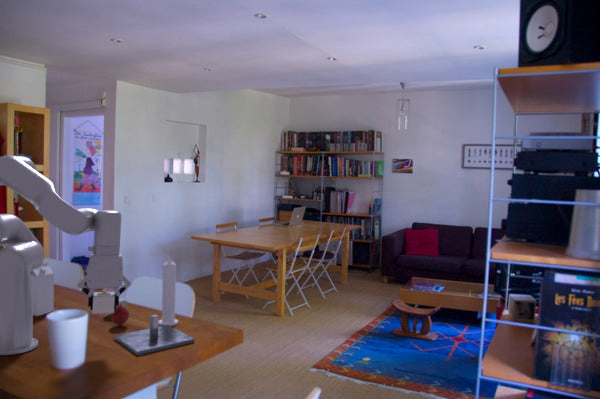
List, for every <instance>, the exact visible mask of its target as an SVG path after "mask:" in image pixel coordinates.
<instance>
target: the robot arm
mask: <svg viewBox="0 0 600 399" xmlns="http://www.w3.org/2000/svg"><path fill="white" fill-rule="evenodd" d="M1 186H6V187H7V188H9V189H11V190H12V191H13V192H14V193H17V194H18V195H20V196H21V197H22V198H23V199H25V200H26V201H28V202H30V204H32V205H33V207H34V208H35V210H36V211H37V212H38V213H39V214H40V216H41V217H43V218H44V219H45V221H48V222H49V223H50V224H51V225H53V226H54V227H56V228H57V229H59V230H60V231H62V232H64V234H65V233H66V234H68V235H71V236H78V235H82V234H85V233H89V232H90V233H91V232H93V245H91V246H87V247H88V248H87V251H88V252H92V253H91V254H90V256H89V260H88V263H87V264H88V265H87V271H86V272H87V274H86V275H85V276H84V277H83V278H82V279H80V281H79V282H77V283H76V286H77V287H78V288H79V289H80V290H81V291H82V292H83V293H84V294H85V295H86V296H87V297H88V302H87V307H89V308H90V311H93V295H94V292H95V291H96V289H97V290H98V289H99V290H100V289H102V290H105V289H106V290H107V289H114V290H113V292H114V293H115V301H114V309H116V306H119V297H120V296H121V295H122V294H123V293H124V292H125V291H126V290H127V289H128V288H130V287H131V286H132V282H131V281H130V280H129V279H128V278H127V277H126V276H125V275H124V262H123V256H122V254H120V251H121V250H120V249H121V232H122V213H121V212H120V211H117V210H113V209H111V210H109V209H108V210H107V209H105V210H104V209H100V210H99V209H95V208H90V207H80V208H75V207H74V206H72V205H71V204H69V203H68V202H67V201H65V200H64V199H63V198H61V197H60V196H59V194H57V192H56V190H55V184H54V182H53V181H52V180H50V179H49V178H48V177H46V176H45V175H43V174H42V173H40V172H39V171H38V170H37V166H36V164H35V163H34V162H33V161H32V160H31V159H30V158H28V157H26V156H21V155H11V154H8V155H6V154H5V155H3V156H0V187H1ZM0 246H2V247H3V248H1V249H0V356H10V355H12V356H13V355H19V354H23V353H26V352H29V351H32V350H34V349H36V348H37V347H38V346H39V340H38V339H37V338H35V337H34V336H33V333H34V332H33V331H34V330H33V327H34V326H33V321H34V320H33V317H34V315H33V286H32V281H31V277H30V271H32V270H34V269H36V268H38V267H39V266H40V265H41V264H42V263H44V261H45V257H46V253H45V249H44V247H43V245H42V244H41V242H40V241H39V240H38V239H37V237H36V236H35V235H34V234H33V232H32V231H31V230H30V229H29V226H27V225H26V223H25V222H23V220H22V219H21V218H19V217H18V216H17V215H14V214H11V213H0ZM85 283H86V286H87V287H86V286H85ZM123 283H124V285H123Z"/></svg>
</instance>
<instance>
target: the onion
mask: <svg viewBox="0 0 600 399" xmlns="http://www.w3.org/2000/svg"><path fill="white" fill-rule="evenodd" d="M122 305H123V304H119V306H118V307H116V309H114V313H112V314H111V315H110V319H111V320H112V322H113V323H114V324H115V325H116V326H118V327H122V326H123V325H124V324H125V323H126V322H127V321H128V320H129V317H130V312H129V311H128V309H127V307H126V308H125V307H123V306H122Z"/></svg>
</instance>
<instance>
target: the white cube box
mask: <svg viewBox="0 0 600 399" xmlns="http://www.w3.org/2000/svg"><path fill="white" fill-rule="evenodd" d="M114 301H115V291H107V289H106V290H105V289H102V291H98V292H97V291H94V292H93V310H92V313H91V314H93V315H94V314H109V313H114Z"/></svg>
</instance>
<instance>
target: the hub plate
mask: <svg viewBox="0 0 600 399" xmlns="http://www.w3.org/2000/svg"><path fill="white" fill-rule="evenodd" d="M158 321H159V314H152V315H150V316H149V328H145V329H141V330H135V331H131V332H126V333H121V334H120V333H119V334H116V335H114V337H113V338H114V341H116V342H117V343H119V344H120V345H122V346H124V348H126V349H127V350H129V351H130V352H131V353H133V354H134V355H136V356H143V355H147V354H150V353H154V352H159V351H162V350H163V351H164V350H167V349H171V348H175V347H179V346H184V344H185V345H188V343H189V344H193V343H194V342H195V338H193V337H192V336H190V335H189V334H186V333H184V332H183V331H181V330H179V329H178V328H175V327H173V326H170V325H165V326H161V325H159V324H158ZM192 342H193V343H192Z"/></svg>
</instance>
